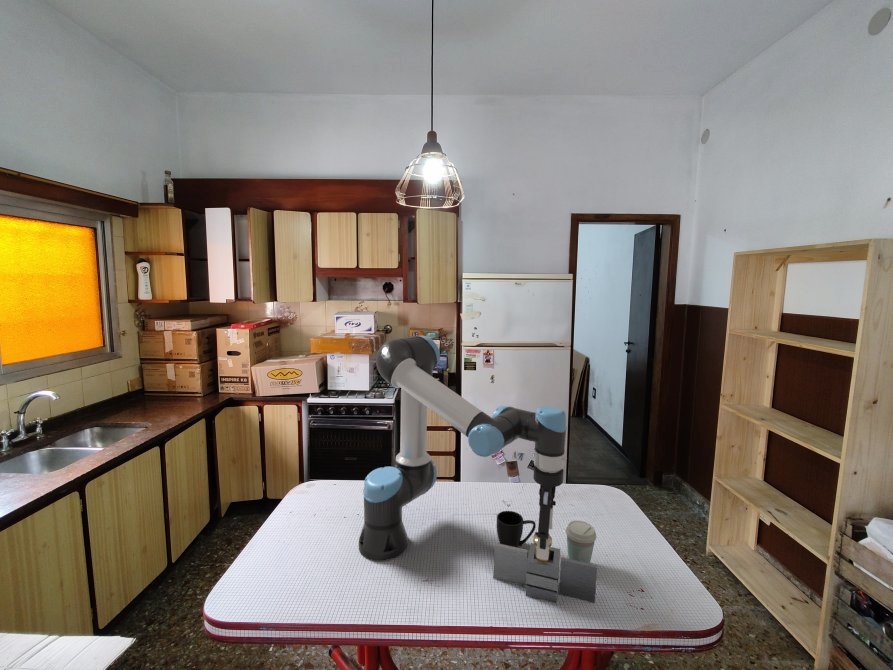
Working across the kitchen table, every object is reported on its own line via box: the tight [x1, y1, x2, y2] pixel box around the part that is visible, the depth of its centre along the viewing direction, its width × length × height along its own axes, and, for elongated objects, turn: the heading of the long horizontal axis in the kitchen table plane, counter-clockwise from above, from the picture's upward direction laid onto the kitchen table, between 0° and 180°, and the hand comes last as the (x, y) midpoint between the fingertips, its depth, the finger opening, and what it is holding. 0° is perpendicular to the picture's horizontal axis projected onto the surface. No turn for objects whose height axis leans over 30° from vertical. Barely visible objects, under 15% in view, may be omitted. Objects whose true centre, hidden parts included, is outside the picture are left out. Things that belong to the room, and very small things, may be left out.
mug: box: [496, 510, 537, 548], centre depth 128 cm, size 8×12×10 cm
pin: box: [532, 533, 553, 562], centre depth 110 cm, size 5×5×15 cm
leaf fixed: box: [525, 542, 598, 604], centre depth 109 cm, size 17×8×10 cm, turn 72°
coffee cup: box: [565, 519, 597, 564], centre depth 119 cm, size 8×8×12 cm
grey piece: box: [492, 542, 561, 591], centre depth 112 cm, size 17×8×10 cm, turn 72°
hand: (544, 542), depth 109 cm, fingers open, 13 cm apart
